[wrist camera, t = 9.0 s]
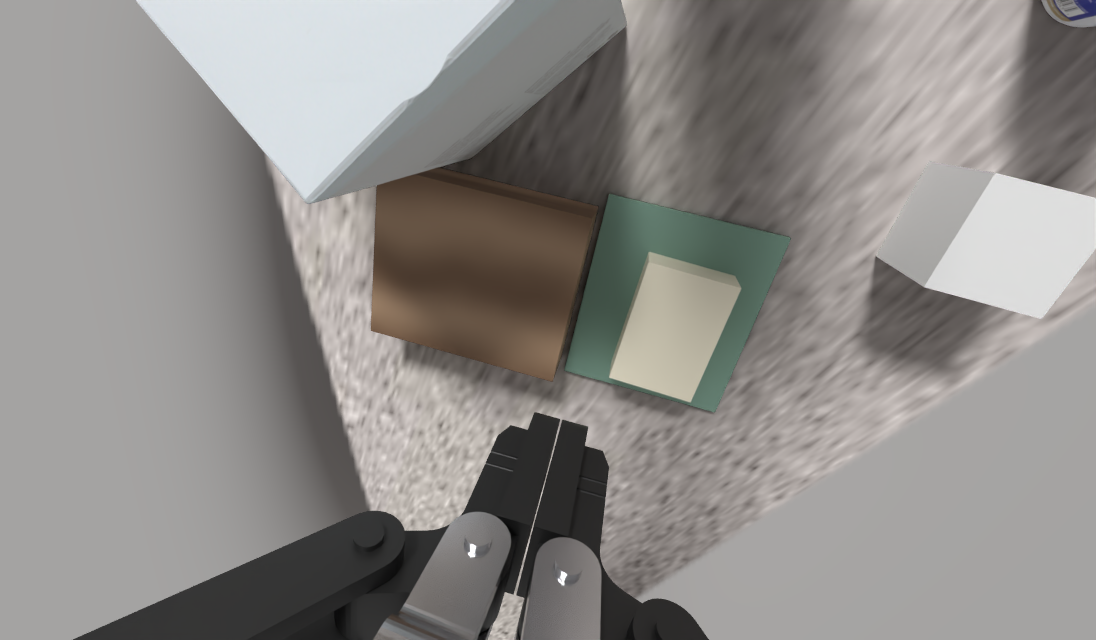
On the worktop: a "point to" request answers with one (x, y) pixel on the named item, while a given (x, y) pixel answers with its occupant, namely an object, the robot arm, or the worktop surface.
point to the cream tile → (673, 326)
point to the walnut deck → (478, 268)
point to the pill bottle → (1072, 12)
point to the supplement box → (380, 76)
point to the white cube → (991, 237)
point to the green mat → (683, 238)
